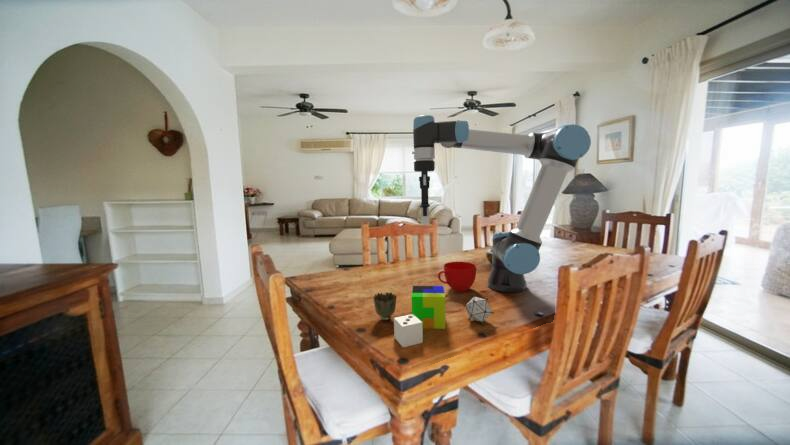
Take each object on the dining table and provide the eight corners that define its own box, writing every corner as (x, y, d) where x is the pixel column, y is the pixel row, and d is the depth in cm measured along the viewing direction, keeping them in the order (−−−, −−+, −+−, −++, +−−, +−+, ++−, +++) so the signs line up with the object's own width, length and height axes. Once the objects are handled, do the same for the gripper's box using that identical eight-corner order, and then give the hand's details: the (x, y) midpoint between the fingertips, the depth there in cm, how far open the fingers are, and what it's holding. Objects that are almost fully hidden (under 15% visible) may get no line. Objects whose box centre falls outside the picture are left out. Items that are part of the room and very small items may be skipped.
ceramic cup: (429, 288, 128) (429, 265, 127) (463, 282, 135) (463, 260, 134) (447, 298, 116) (447, 273, 115) (482, 291, 123) (483, 267, 122)
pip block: (413, 333, 91) (412, 313, 90) (422, 342, 85) (422, 321, 84) (394, 337, 88) (393, 317, 88) (402, 347, 83) (402, 326, 82)
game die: (477, 335, 96) (467, 317, 91) (465, 315, 103) (454, 297, 98) (502, 320, 96) (493, 301, 90) (488, 301, 103) (479, 283, 98)
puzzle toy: (443, 314, 103) (443, 286, 101) (445, 328, 93) (445, 297, 92) (413, 314, 104) (413, 285, 102) (412, 328, 94) (411, 296, 93)
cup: (396, 314, 104) (396, 291, 103) (397, 324, 96) (396, 299, 95) (374, 315, 104) (373, 292, 103) (373, 325, 96) (372, 300, 95)
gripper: (414, 162, 118) (415, 222, 121) (413, 159, 106) (414, 227, 108) (433, 161, 118) (434, 222, 121) (435, 158, 105) (436, 227, 108)
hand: (425, 224), depth 115 cm, fingers closed
